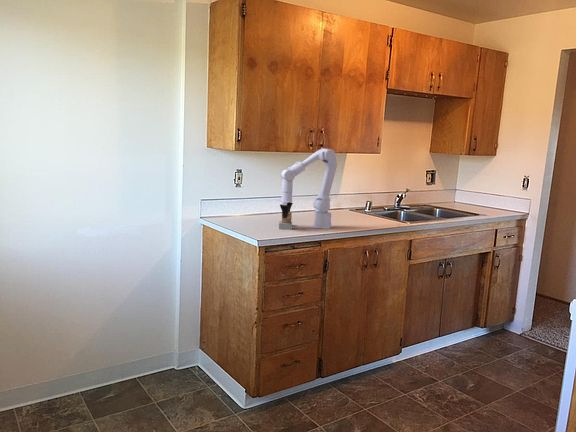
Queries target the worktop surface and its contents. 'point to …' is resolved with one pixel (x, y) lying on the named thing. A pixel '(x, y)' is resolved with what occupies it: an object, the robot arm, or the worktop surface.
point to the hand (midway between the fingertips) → (285, 216)
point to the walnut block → (288, 219)
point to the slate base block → (285, 226)
